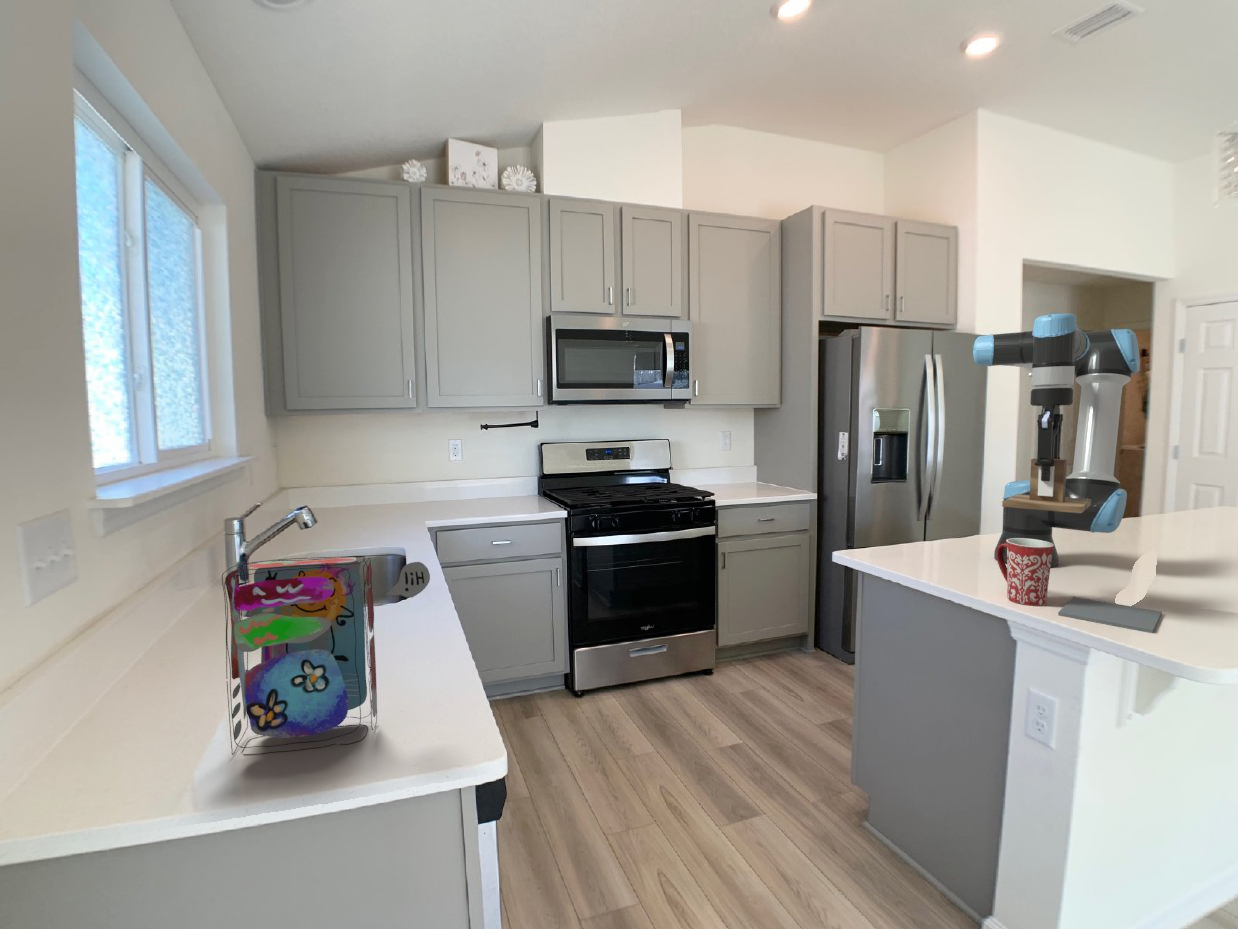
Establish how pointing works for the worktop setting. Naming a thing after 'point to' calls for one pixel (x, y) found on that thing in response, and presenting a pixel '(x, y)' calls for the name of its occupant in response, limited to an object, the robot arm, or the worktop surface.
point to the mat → (1111, 614)
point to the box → (305, 643)
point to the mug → (1026, 569)
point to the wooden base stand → (1048, 502)
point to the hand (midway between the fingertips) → (1047, 494)
